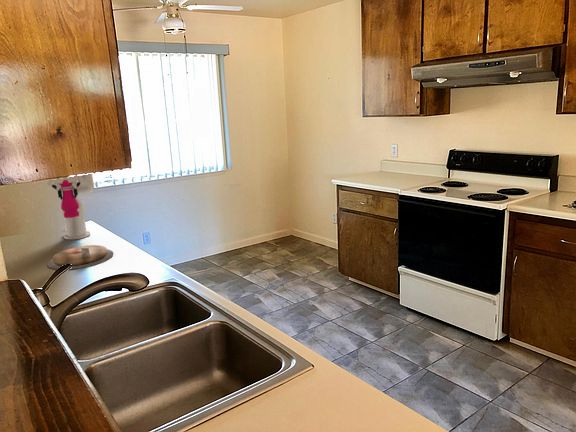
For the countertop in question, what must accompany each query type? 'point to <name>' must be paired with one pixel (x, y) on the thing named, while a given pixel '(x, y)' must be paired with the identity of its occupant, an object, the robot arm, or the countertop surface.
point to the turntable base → (107, 257)
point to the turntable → (80, 255)
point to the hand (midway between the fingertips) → (68, 197)
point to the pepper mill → (69, 200)
